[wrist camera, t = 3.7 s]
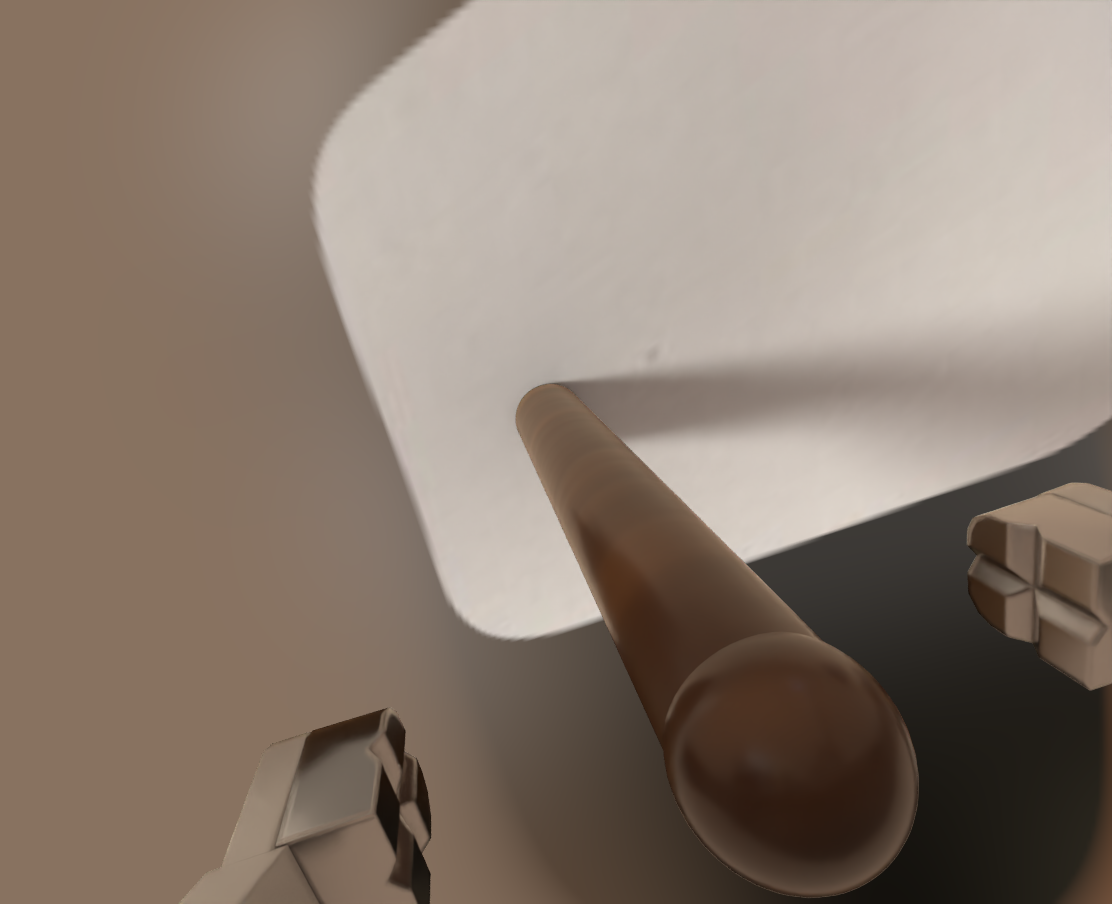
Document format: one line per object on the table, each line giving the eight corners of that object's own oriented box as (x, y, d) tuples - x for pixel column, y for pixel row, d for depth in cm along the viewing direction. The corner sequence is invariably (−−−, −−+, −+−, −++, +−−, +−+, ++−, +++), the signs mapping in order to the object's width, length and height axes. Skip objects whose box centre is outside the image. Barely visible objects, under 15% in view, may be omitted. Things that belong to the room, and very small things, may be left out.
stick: (503, 392, 19) (703, 806, 5) (576, 371, 19) (987, 705, 5) (522, 462, 20) (743, 1000, 5) (593, 441, 20) (984, 905, 6)
